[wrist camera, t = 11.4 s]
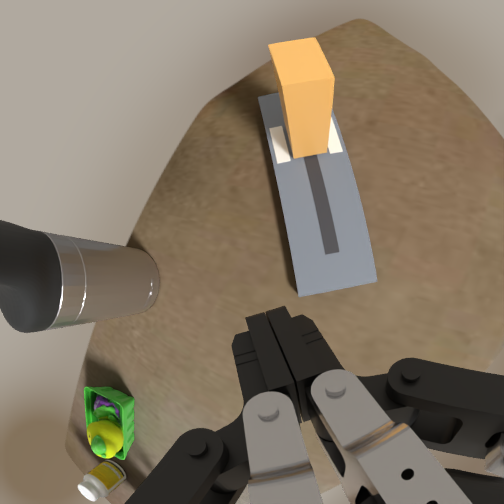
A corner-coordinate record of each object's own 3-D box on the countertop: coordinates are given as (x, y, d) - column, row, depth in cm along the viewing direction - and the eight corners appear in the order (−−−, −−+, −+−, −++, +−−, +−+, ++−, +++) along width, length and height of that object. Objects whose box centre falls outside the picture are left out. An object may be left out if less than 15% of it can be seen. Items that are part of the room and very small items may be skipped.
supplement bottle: (103, 454, 36) (72, 476, 27) (126, 467, 35) (96, 493, 26) (105, 471, 36) (77, 493, 26) (127, 484, 35) (100, 509, 25)
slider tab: (326, 152, 31) (334, 77, 17) (293, 158, 31) (281, 85, 18) (316, 117, 31) (315, 37, 17) (284, 123, 32) (268, 44, 18)
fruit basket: (103, 376, 37) (54, 396, 26) (148, 396, 35) (102, 427, 24) (105, 429, 36) (64, 455, 25) (147, 450, 35) (109, 485, 24)
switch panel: (373, 281, 31) (377, 281, 29) (299, 295, 32) (298, 296, 30) (322, 93, 34) (323, 84, 32) (260, 104, 35) (257, 96, 33)
